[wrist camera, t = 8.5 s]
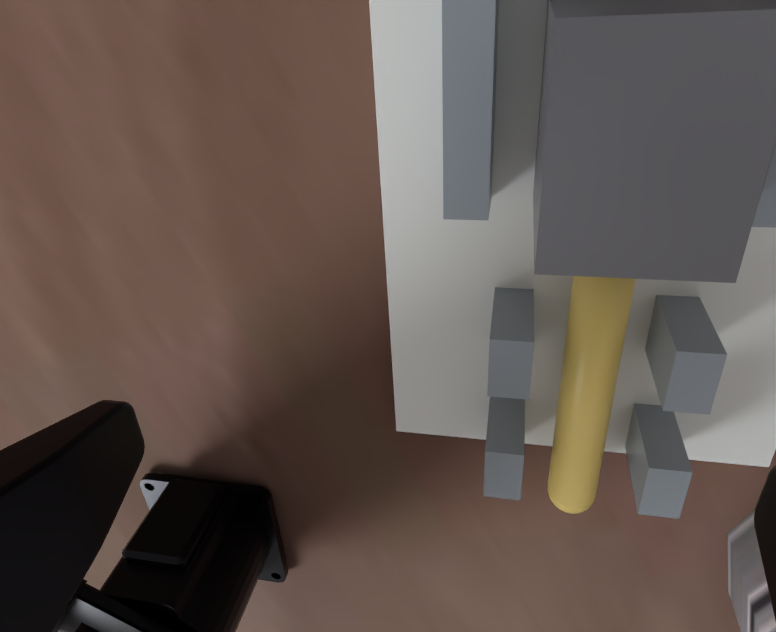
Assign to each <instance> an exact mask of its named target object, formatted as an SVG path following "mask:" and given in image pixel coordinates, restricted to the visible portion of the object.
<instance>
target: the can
mask: <svg viewBox="0 0 776 632" xmlns="http://www.w3.org/2000/svg"><path fill="white" fill-rule="evenodd" d="M754 512H755V510H754V511H753V512H752V513H751V514H750V515H748V516H747V517H746V518H745V519H744V520H743V521H741V522H740V523H739V524H738V525H737V526H736V527H734V528H733V529H732V530H731V531H730V532H729V533H727V548H728V591H729V595H730V598H731V601H732V604H733V608H734V611H735V614H736V617H737V621H738V624H739V627H740V631H741V632H776V621H775V617H774V612H773V608H772V603H771V599H770V594H769V590H768V585H767V581H766V576H765V572H764V568H763V563H762V559H761V554H760V550H759V545H758V541H757V536H756V532H755V527H754Z"/></svg>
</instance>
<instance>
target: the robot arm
mask: <svg viewBox="0 0 776 632" xmlns="http://www.w3.org/2000/svg"><path fill="white" fill-rule="evenodd" d="M144 448H145V446H144V439H143V436H142V433H141V430H140V427H139V424H138V421H137V418H136V415H135V412H134V409H133V407H132V406H131V405H130V404H129V403H127V402H123V401H113V400H103V401H100V402H97V403H95V404H93V405H91V406H89V407H87V408H85V409H83V410H81V411H79V412H77V413H75V414H73V415H71V416H69V417H67V418H65V419H63V420H61V421H59V422H57V423H55V424H53V425H51V426H49V427H47V428H45V429H43V430H41V431H39V432H37V433H35V434H33V435H30V436H28V437H26V438H24V439H22V440H20V441H18V442H16V443H14V444H12V445H10V446H8V447H6V448H4V449H2V450H0V632H236V629H237V627H238V625H239V622H240V620H241V618H242V615H243V613H244V611H245V608H246V606H247V604H248V601H249V599H250V597H251V594H252V592H253V590H254V587H255V585H256V583H257V580H258V579H260V580H266V581H273V582H284V581H285V579H286V577H287V574H288V568H287V564H286V559H285V555H284V550H283V546H282V541H281V537H280V532H279V528H278V524H277V519H276V515H275V510H274V506H273V501H272V497H271V494H270V492H269V491H268V490H267V489H265V488H263V487H260V486H252V485H244V484H236V483H228V482H220V481H211V480H203V479H195V478H187V477H178V476H170V475H162V474H154V473H147V474H145V476H144V477H143V478H142V480H141V481H140V487H141V490H142V492H143V495H144V497H145V500H146V503H147V505H148V508H149V510H150V511H149V512H148V514H147V515H146V517H145V518H144V520H143V521H142V523H141V524H140V526H139V527H138V529H137V530H136V532H135V533H134V535H133V536H132V537H131V539H130V540H129V542H128V543H127V545H126V546H125V548H124V549H123V552H122V555H123V556H122V557H121V559H120V560H119V562H118V563H117V565H116V566H115V568H114V569H113V571H112V572H111V574H110V575H109V577H108V578H107V580H106V581H105V583H104V584H103V586H102V587H101V589H100V590H98V589H96V588H94V587H92V586H90V585H88V584H86V583H87V581H86V580H84V579H83V578H84V576H85V575H86V573H87V571H88V570H89V568H90V566H91V564H92V563H93V561H94V559H95V557H96V555H97V554H98V552H99V550H100V548H101V546H102V544H103V542H104V540H105V538H106V536H107V534H108V532H109V530H110V528H111V526H112V523H113V521H114V519H115V517H116V515H117V513H118V510H119V508H120V506H121V504H122V502H123V499H124V497H125V495H126V493H127V491H128V489H129V486H130V484H131V482H132V480H133V478H134V475H135V473H136V471H137V469H138V467H139V465H140V462H141V460H142V458H143V454H144ZM754 527H755V532H756V536H757V541H758V545H759V550H760V554H761V559H762V563H763V568H764V572H765V576H766V581H767V585H768V590H769V594H770V599H771V603H772V608H773V612H774V617H775V621H776V466H774V467H773V468H772V469H771V470H770V472H769V474H768V477H767V479H766V482H765V484H764V487H763V490H762V492H761V495H760V497H759V500H758V502H757V505H756V508H755V512H754Z"/></svg>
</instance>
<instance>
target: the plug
mask: <svg viewBox="0 0 776 632" xmlns="http://www.w3.org/2000/svg"><path fill="white" fill-rule="evenodd" d="M775 143H776V0H548V5H547V19H546V32H545V45H544V58H543V71H542V84H541V97H540V110H539V123H538V137H537V150H536V163H535V176H534V189H533V222H534V274H538V275H561V276H573V282H572V290H571V298H570V306H569V314H568V323H567V331H566V339H565V347H564V356H563V364H562V372H561V380H560V388H559V397H558V405H557V413H556V421H555V429H554V438H553V446H552V454H551V462H550V470H549V479H548V494H549V497H550V499H551V501H552V502H553V504H554V505H555V506H556V507H557V508H559V509H560V510H562V511H564V512H566V513H571V514H576V513H581V512H584V511H585V510H587V509H588V508H589V507H590V506H591V505H592V504H593V502H594V500H595V497H596V491H597V486H598V480H599V475H600V470H601V464H602V459H603V453H604V448H605V442H606V437H607V431H608V426H609V421H610V415H611V410H612V404H613V399H614V393H615V388H616V382H617V377H618V371H619V366H620V361H621V355H622V350H623V344H624V339H625V333H626V328H627V322H628V317H629V312H630V306H631V301H632V295H633V290H634V284H635V279H654V280H677V281H700V282H723V283H736V280H737V277H738V273H739V270H740V266H741V263H742V259H743V256H744V252H745V249H746V245H747V242H748V238H749V234H750V231H751V227H752V224H753V220H754V217H755V213H756V210H757V206H758V203H759V199H760V196H761V192H762V189H763V185H764V182H765V178H766V175H767V171H768V167H769V164H770V160H771V157H772V153H773V150H774V146H775Z"/></svg>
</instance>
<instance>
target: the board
mask: <svg viewBox="0 0 776 632" xmlns="http://www.w3.org/2000/svg"><path fill="white" fill-rule="evenodd" d="M547 5H548V0H369V6H370V22H371V38H372V53H373V69H374V85H375V101H376V117H377V133H378V148H379V164H380V180H381V196H382V212H383V227H384V243H385V259H386V275H387V291H388V306H389V322H390V338H391V354H392V370H393V386H394V401H395V417H396V431H400V432H411V433H421V434H431V435H442V436H452V437H462V438H473V439H483V440H486V446H485V465H484V489H483V496H486V497H495V498H503V499H512V500H521V489H522V477H523V466H524V446H525V444H534V445H545V446H553V438H554V429H555V421H556V413H557V405H558V397H559V388H560V380H561V372H562V364H563V356H564V347H565V339H566V331H567V323H568V314H569V306H570V298H571V290H572V282H573V276H561V275H538V274H534V222H533V189H534V176H535V163H536V150H537V137H538V123H539V110H540V97H541V84H542V71H543V58H544V45H545V32H546V19H547ZM775 450H776V143H775V146H774V150H773V153H772V157H771V160H770V164H769V167H768V171H767V175H766V178H765V182H764V185H763V189H762V192H761V196H760V199H759V203H758V206H757V210H756V213H755V217H754V220H753V224H752V227H751V231H750V234H749V238H748V242H747V245H746V249H745V252H744V256H743V259H742V263H741V266H740V270H739V273H738V277H737V280H736V283H723V282H700V281H677V280H654V279H635V284H634V290H633V295H632V301H631V306H630V312H629V317H628V322H627V328H626V333H625V339H624V344H623V350H622V355H621V361H620V366H619V371H618V377H617V382H616V388H615V393H614V399H613V404H612V410H611V415H610V421H609V426H608V431H607V437H606V442H605V448H604V451H607V452H617V453H626V454H627V460H628V465H629V470H630V475H631V481H632V486H633V491H634V496H635V501H636V507H637V512H638V514H642V515H650V516H659V517H668V518H676V519H679V517H680V514H681V511H682V507H683V504H684V500H685V497H686V494H687V490H688V487H689V483H690V480H691V477H692V473H693V472H692V469H691V465H690V462H689V460H699V461H710V462H720V463H730V464H741V465H751V466H761V467H769V466H770V463H771V460H772V458H773V455H774V453H775Z"/></svg>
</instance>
